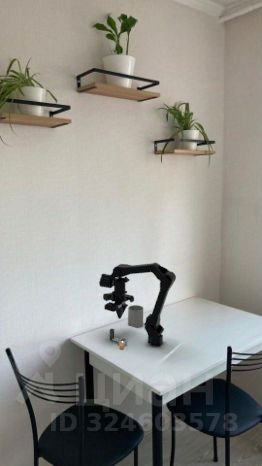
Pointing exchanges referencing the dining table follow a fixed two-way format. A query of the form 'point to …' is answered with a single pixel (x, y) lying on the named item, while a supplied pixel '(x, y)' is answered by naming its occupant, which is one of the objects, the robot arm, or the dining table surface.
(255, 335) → the dining table surface
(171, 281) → the robot arm
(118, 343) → the crank
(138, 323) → the cup
